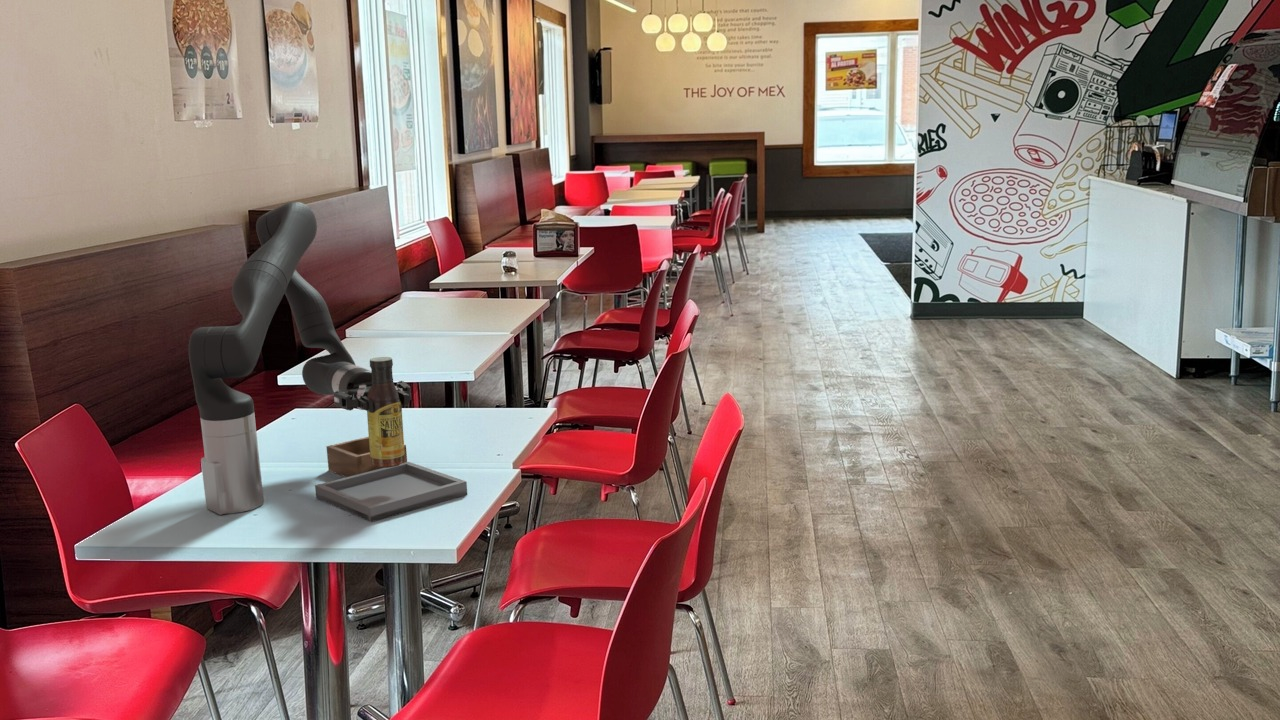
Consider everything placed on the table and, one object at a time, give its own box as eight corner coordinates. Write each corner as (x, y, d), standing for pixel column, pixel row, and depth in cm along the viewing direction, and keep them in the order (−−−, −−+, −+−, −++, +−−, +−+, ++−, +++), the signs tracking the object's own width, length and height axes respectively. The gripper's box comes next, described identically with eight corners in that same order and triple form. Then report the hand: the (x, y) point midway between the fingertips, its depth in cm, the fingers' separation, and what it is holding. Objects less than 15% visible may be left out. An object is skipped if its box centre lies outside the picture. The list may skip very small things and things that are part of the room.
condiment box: (358, 481, 220) (356, 457, 219) (328, 470, 229) (326, 446, 228) (407, 469, 227) (405, 445, 226) (376, 458, 236) (374, 435, 235)
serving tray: (371, 522, 196) (370, 508, 196) (316, 498, 211) (314, 485, 210) (467, 494, 210) (466, 481, 209) (409, 473, 224) (408, 461, 224)
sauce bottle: (386, 471, 205) (376, 364, 200) (363, 466, 209) (353, 361, 204) (413, 461, 210) (404, 357, 205) (391, 456, 214) (381, 353, 209)
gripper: (318, 373, 214) (348, 389, 200) (391, 362, 222) (424, 377, 208) (322, 411, 216) (352, 430, 202) (394, 399, 223) (427, 416, 209)
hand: (388, 403), depth 205 cm, fingers closed on sauce bottle, 6 cm apart
